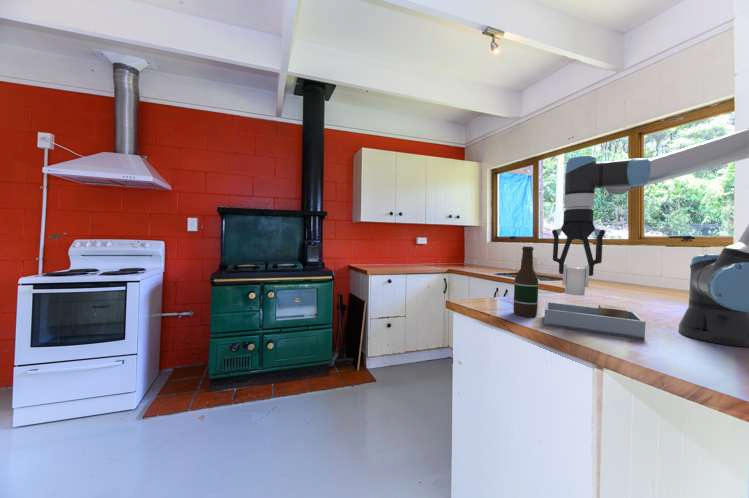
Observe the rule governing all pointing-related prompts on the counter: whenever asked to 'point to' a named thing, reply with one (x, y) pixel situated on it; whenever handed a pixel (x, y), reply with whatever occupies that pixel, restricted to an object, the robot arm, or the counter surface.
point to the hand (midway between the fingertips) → (574, 285)
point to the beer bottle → (526, 286)
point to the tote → (593, 321)
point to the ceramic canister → (575, 281)
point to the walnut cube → (612, 311)
